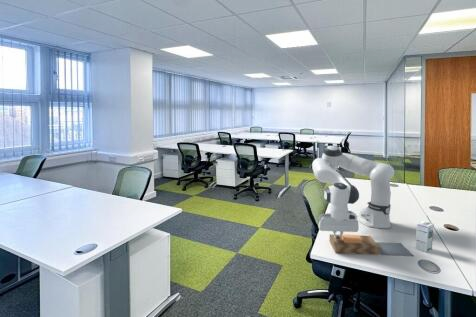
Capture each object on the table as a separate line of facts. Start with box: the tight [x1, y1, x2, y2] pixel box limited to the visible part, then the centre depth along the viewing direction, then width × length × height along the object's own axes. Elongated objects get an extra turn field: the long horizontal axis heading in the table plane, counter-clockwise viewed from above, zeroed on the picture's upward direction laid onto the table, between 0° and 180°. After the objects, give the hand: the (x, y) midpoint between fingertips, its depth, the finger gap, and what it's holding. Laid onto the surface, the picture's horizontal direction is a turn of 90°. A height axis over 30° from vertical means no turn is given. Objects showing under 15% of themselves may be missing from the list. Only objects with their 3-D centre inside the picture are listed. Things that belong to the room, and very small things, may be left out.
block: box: [342, 233, 363, 243], centre depth 152 cm, size 9×6×2 cm, turn 85°
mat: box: [375, 241, 415, 257], centre depth 151 cm, size 16×14×1 cm
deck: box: [329, 233, 381, 256], centre depth 153 cm, size 22×14×4 cm, turn 85°
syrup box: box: [414, 220, 435, 253], centre depth 150 cm, size 6×6×14 cm
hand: (337, 238), depth 153 cm, fingers closed
